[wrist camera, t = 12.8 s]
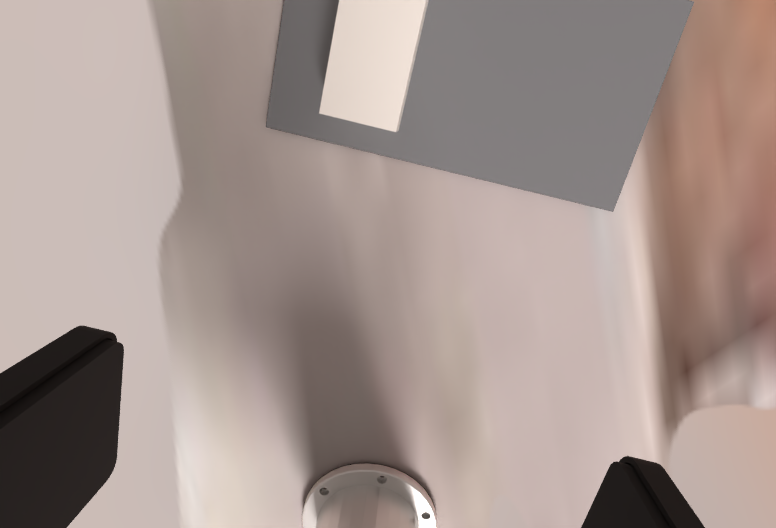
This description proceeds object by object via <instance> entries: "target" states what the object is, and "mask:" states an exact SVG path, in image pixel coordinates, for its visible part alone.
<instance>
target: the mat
mask: <svg viewBox="0 0 776 528" xmlns="http://www.w3.org/2000/svg"><path fill="white" fill-rule="evenodd" d="M338 4H339V0H284V5H283V12H282V19H281V26H280V33H279V39H278V46H277V53H276V60H275V67H274V74H273V80H272V87H271V94H270V101H269V108H268V115H267V122H266V127H267V128H271V129H275V130H280V131H284V132H288V133H292V134H296V135H300V136H304V137H308V138H312V139H316V140H321V141H325V142H329V143H333V144H337V145H341V146H345V147H349V148H353V149H357V150H362V151H366V152H370V153H374V154H378V155H382V156H386V157H390V158H394V159H399V160H403V161H407V162H411V163H415V164H419V165H423V166H427V167H431V168H435V169H440V170H444V171H448V172H452V173H456V174H460V175H464V176H468V177H472V178H476V179H481V180H485V181H489V182H493V183H497V184H501V185H505V186H509V187H513V188H518V189H522V190H526V191H530V192H534V193H538V194H542V195H546V196H550V197H554V198H559V199H563V200H567V201H571V202H575V203H579V204H583V205H587V206H591V207H595V208H600V209H604V210H608V211H612V212H613V211H614V208H615V205H616V203H617V200H618V198H619V195H620V193H621V190H622V187H623V185H624V182H625V180H626V177H627V174H628V172H629V169H630V167H631V164H632V161H633V159H634V156H635V154H636V151H637V149H638V146H639V143H640V141H641V138H642V136H643V133H644V130H645V128H646V125H647V123H648V120H649V117H650V115H651V112H652V110H653V107H654V105H655V102H656V99H657V97H658V94H659V92H660V89H661V86H662V84H663V81H664V79H665V76H666V73H667V71H668V68H669V66H670V63H671V61H672V58H673V55H674V53H675V50H676V48H677V45H678V42H679V40H680V37H681V35H682V32H683V29H684V27H685V24H686V22H687V19H688V17H689V14H690V11H691V9H692V6H693V4H694V2H693V1H689V0H429V1H428V5H427V9H426V14H425V18H424V22H423V27H422V31H421V35H420V40H419V44H418V48H417V53H416V57H415V61H414V66H413V70H412V74H411V79H410V83H409V87H408V92H407V96H406V100H405V105H404V109H403V113H402V118H401V122H400V126H399V131H397V132H393V131H389V130H385V129H381V128H377V127H373V126H368V125H364V124H360V123H356V122H352V121H348V120H344V119H340V118H336V117H332V116H328V115H324V114H319V111H320V105H321V99H322V94H323V88H324V83H325V77H326V71H327V66H328V60H329V55H330V49H331V43H332V38H333V32H334V27H335V21H336V15H337V10H338Z"/></svg>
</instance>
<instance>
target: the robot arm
mask: <svg viewBox="0 0 776 528" xmlns="http://www.w3.org/2000/svg"><path fill="white" fill-rule="evenodd" d="M123 355H124V349H123V345H122V344H121V343H119V342H117V338H116V336H115V334H113V333H111V332H108V331H104V330H99V329H95V328H91V327H87V326H78V327H76V328H74V329H72V330H71V331H69V332H67V333H66V334H64V335H63V336H61V337H59V338H58V339H56V340H54V341H53V342H51V343H49V344H48V345H46V346H44V347H43V348H41V349H40V350H38V351H36V352H35V353H33V354H31V355H30V356H28V357H26V358H25V359H23V360H22V361H20V362H18V363H17V364H15V365H13V366H12V367H10V368H8V369H7V370H5V371H4V372H2V373H0V528H67V526H68V525H69V524H70V523H71V522H72V520H74V518H75V517H76V516H77V515H78V514H79V512H80V511H81V510H82V509H83V508H84V506H85V505H86V504H87V503H88V502H89V501H90V500H91V499H92V497H93V496H94V495H95V494H96V493H97V492H98V490H99V489H100V488H101V487H102V486H103V485H104V483H105V482H106V481H107V480H108V478H109V477H110V475H111V474H112V471H113V469H114V467H115V464H116V459H117V447H118V431H119V416H120V401H121V385H122V370H123ZM302 527H303V528H437V518H436V512H435V508H434V505H433V503H432V500H431V498H430V497H429V495H428V494H427V492H426V491H425V489H424V488H423V487H422V486H421V485H420V484H419V483H418V482H417V481H415V480H414V479H412V478H411V477H410V476H408V475H407V474H405V473H403V472H401V471H398V470H396V469H394V468H390V467H387V466H383V465H378V464H369V463H366V464H353V465H348V466H343V467H340V468H338V469H335V470H333V471H331V472H329V473H328V474H326V475H325V476H323V477H321V478H320V479H319V480H318V481H317V482H316V483H315V484H314V485H313V487H312V489H311V490H310V492H309V493H308V496H307V498H306V501H305V504H304V508H303V512H302ZM581 528H705V527H704V526H703V524H702V523H701V521H700V520H699V518H698V517H697V516H696V514H695V513H694V511H693V510H692V509H691V507H690V506H689V504H688V503H687V501H686V500H685V498H684V497H683V495H682V494H681V493H680V491H679V490H678V488H677V487H676V485H675V484H674V482H673V481H672V480H671V478H670V477H669V475H668V474H667V472H666V471H665V469H664V468H663V467H662V466H661V465H660V464H657V463H654V462H650V461H646V460H642V459H638V458H634V457H629V456H626V457H623V458H622V459H621V460H620V461H619V462H613V463H612V464H611V465H610V467H609V469H608V471H607V473H606V475H605V478H604V480H603V482H602V484H601V486H600V488H599V491H598V493H597V495H596V497H595V499H594V501H593V504H592V506H591V508H590V510H589V512H588V514H587V516H586V519H585V521H584V523H583V525H582V527H581Z"/></svg>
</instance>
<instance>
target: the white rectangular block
mask: <svg viewBox="0 0 776 528" xmlns="http://www.w3.org/2000/svg"><path fill="white" fill-rule="evenodd" d="M428 1H429V0H339V4H338V10H337V15H336V21H335V27H334V32H333V38H332V43H331V49H330V55H329V60H328V66H327V71H326V77H325V83H324V88H323V94H322V99H321V105H320V111H319V114H324V115H328V116H332V117H336V118H340V119H344V120H348V121H352V122H356V123H360V124H364V125H368V126H373V127H377V128H381V129H385V130H389V131H393V132H397V131H399V126H400V122H401V118H402V113H403V109H404V105H405V100H406V96H407V92H408V87H409V83H410V79H411V74H412V70H413V66H414V61H415V57H416V53H417V48H418V44H419V40H420V35H421V31H422V27H423V22H424V18H425V14H426V9H427V5H428Z"/></svg>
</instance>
